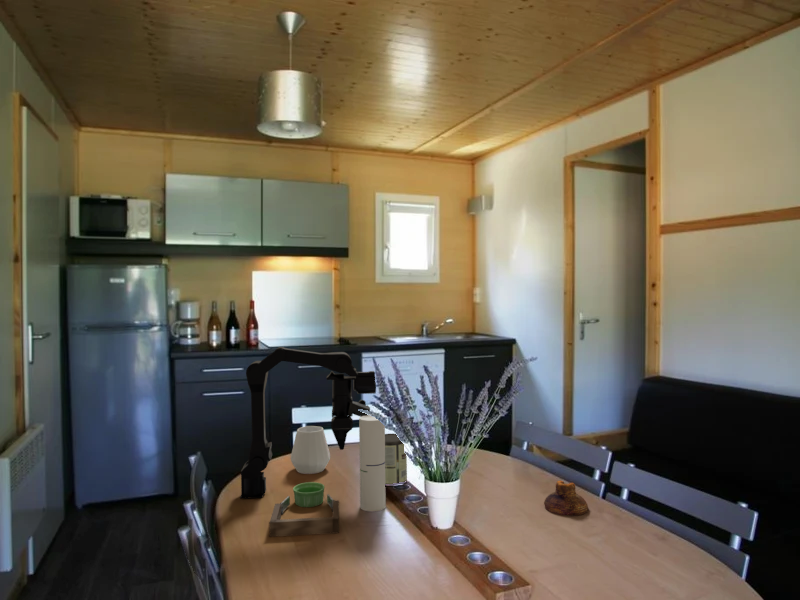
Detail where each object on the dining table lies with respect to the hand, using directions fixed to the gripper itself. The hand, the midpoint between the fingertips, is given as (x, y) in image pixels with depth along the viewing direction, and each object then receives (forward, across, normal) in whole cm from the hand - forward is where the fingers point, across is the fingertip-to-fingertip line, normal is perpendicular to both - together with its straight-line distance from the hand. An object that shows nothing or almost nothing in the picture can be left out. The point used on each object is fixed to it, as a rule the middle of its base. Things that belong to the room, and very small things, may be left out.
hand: (341, 445), depth 169 cm
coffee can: (+14, +6, -16) cm, 22 cm away
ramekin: (+14, -8, +9) cm, 19 cm away
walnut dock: (+14, -23, +9) cm, 29 cm away
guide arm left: (+14, -14, +16) cm, 25 cm away
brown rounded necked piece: (+13, -22, -62) cm, 67 cm away
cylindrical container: (+14, -14, -9) cm, 22 cm away
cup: (+14, +22, +10) cm, 28 cm away
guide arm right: (+14, -14, +3) cm, 20 cm away
